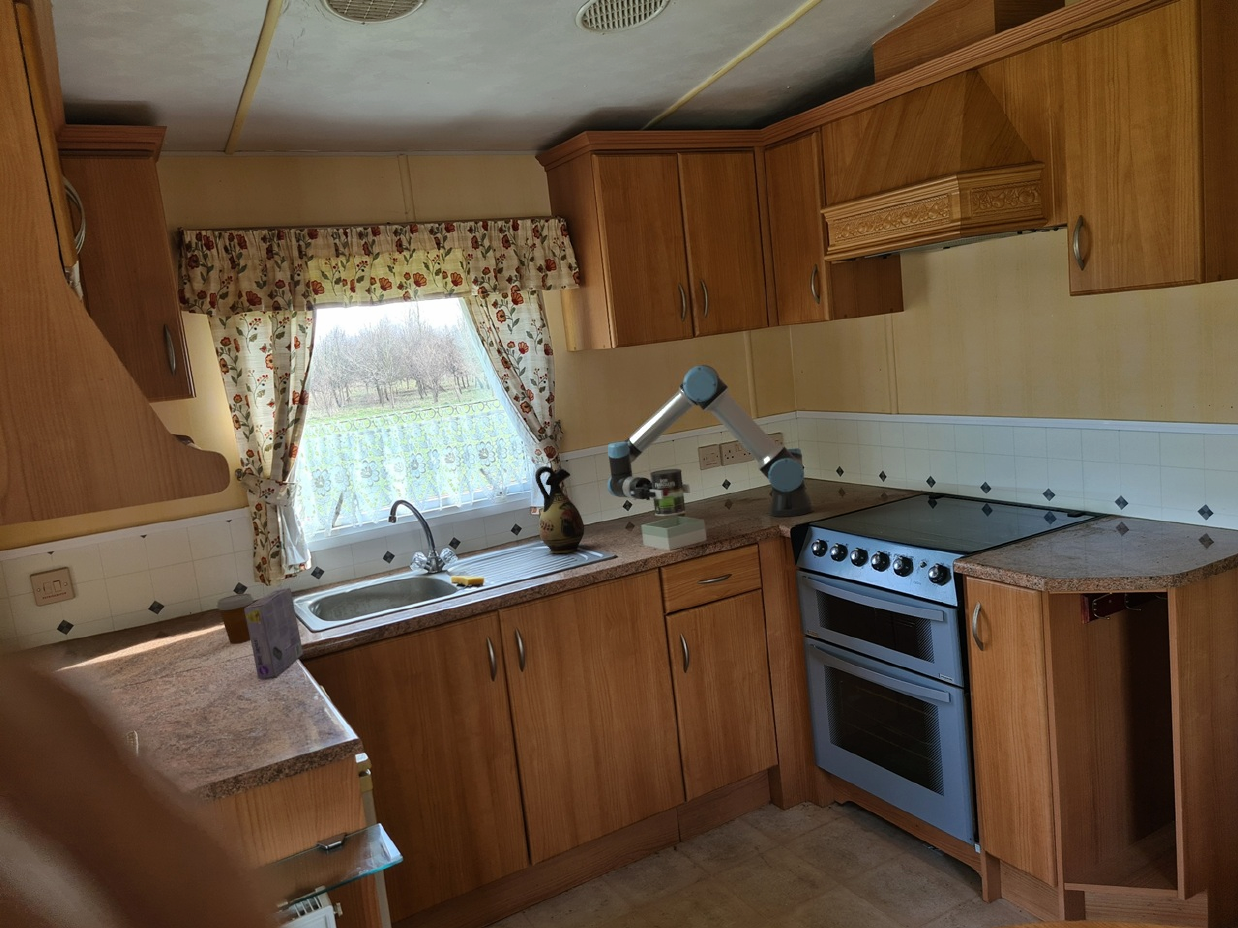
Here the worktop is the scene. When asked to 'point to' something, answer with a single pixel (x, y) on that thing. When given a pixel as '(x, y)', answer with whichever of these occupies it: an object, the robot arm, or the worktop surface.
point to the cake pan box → (273, 633)
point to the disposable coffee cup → (235, 616)
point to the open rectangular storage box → (673, 532)
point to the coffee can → (668, 492)
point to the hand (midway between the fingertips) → (675, 491)
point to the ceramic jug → (558, 514)
